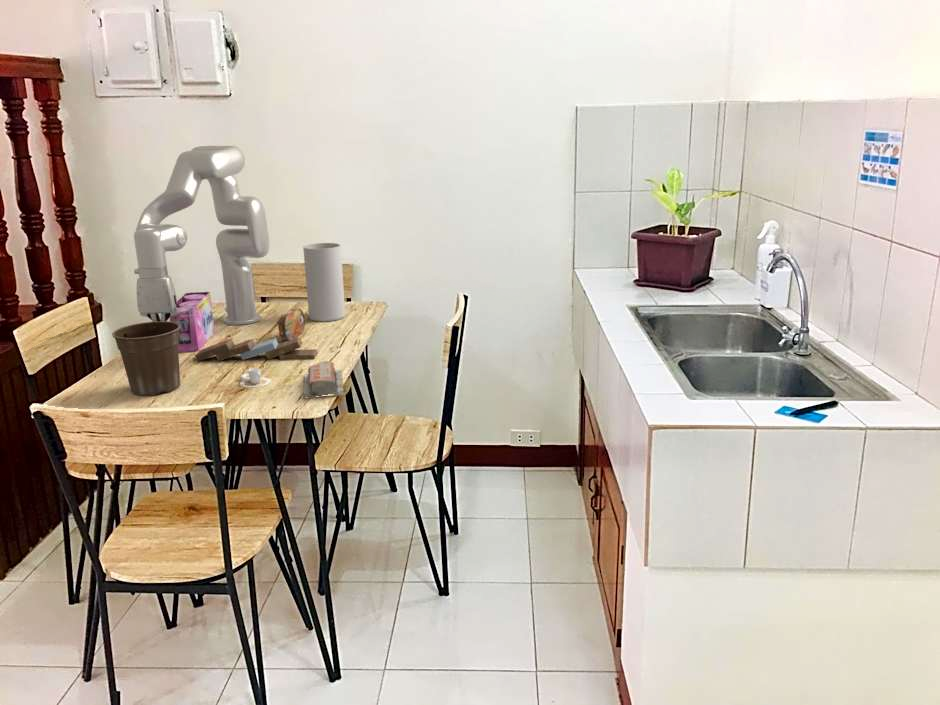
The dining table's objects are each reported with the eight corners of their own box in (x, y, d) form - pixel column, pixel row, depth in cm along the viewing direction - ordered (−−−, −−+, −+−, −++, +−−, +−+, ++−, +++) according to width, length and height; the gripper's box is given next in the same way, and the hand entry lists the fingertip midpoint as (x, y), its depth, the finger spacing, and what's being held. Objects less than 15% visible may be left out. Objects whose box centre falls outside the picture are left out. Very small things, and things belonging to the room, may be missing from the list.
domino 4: (265, 353, 229) (297, 341, 229) (268, 348, 234) (299, 336, 234) (267, 359, 229) (300, 347, 229) (270, 354, 234) (302, 342, 234)
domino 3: (239, 353, 229) (272, 342, 228) (243, 348, 234) (275, 338, 234) (242, 360, 229) (275, 349, 229) (246, 354, 234) (278, 344, 234)
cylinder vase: (304, 321, 270) (298, 249, 263) (315, 312, 282) (309, 243, 275) (340, 322, 269) (334, 249, 261) (349, 313, 281) (344, 242, 273)
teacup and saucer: (238, 380, 213) (236, 366, 212) (268, 376, 216) (267, 362, 215) (241, 390, 205) (239, 375, 204) (272, 386, 208) (271, 371, 207)
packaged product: (342, 379, 198) (302, 382, 196) (344, 397, 199) (303, 400, 198) (341, 357, 215) (303, 360, 213) (342, 374, 216) (305, 377, 215)
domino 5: (279, 355, 229) (313, 354, 229) (283, 349, 234) (317, 349, 234) (279, 362, 229) (314, 361, 229) (284, 356, 235) (317, 355, 235)
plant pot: (111, 400, 199) (101, 338, 194) (134, 379, 214) (125, 322, 210) (177, 398, 200) (168, 336, 195) (195, 377, 215) (187, 320, 210)
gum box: (198, 352, 238) (192, 308, 234) (171, 354, 237) (165, 310, 233) (215, 331, 261) (210, 291, 257) (190, 332, 260) (185, 292, 256)
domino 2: (215, 354, 228) (247, 344, 228) (221, 349, 234) (252, 338, 233) (218, 361, 229) (250, 350, 228) (224, 355, 234) (255, 345, 233)
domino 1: (194, 355, 228) (226, 343, 227) (201, 349, 234) (231, 338, 233) (197, 361, 229) (229, 349, 228) (204, 355, 234) (234, 344, 233)
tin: (287, 343, 245) (285, 317, 243) (278, 343, 246) (275, 317, 243) (306, 330, 259) (304, 305, 257) (297, 330, 260) (295, 305, 257)
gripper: (121, 276, 221) (131, 339, 226) (175, 274, 221) (183, 338, 226) (132, 270, 228) (141, 332, 233) (184, 269, 228) (192, 330, 233)
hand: (162, 334), depth 230 cm, fingers closed
